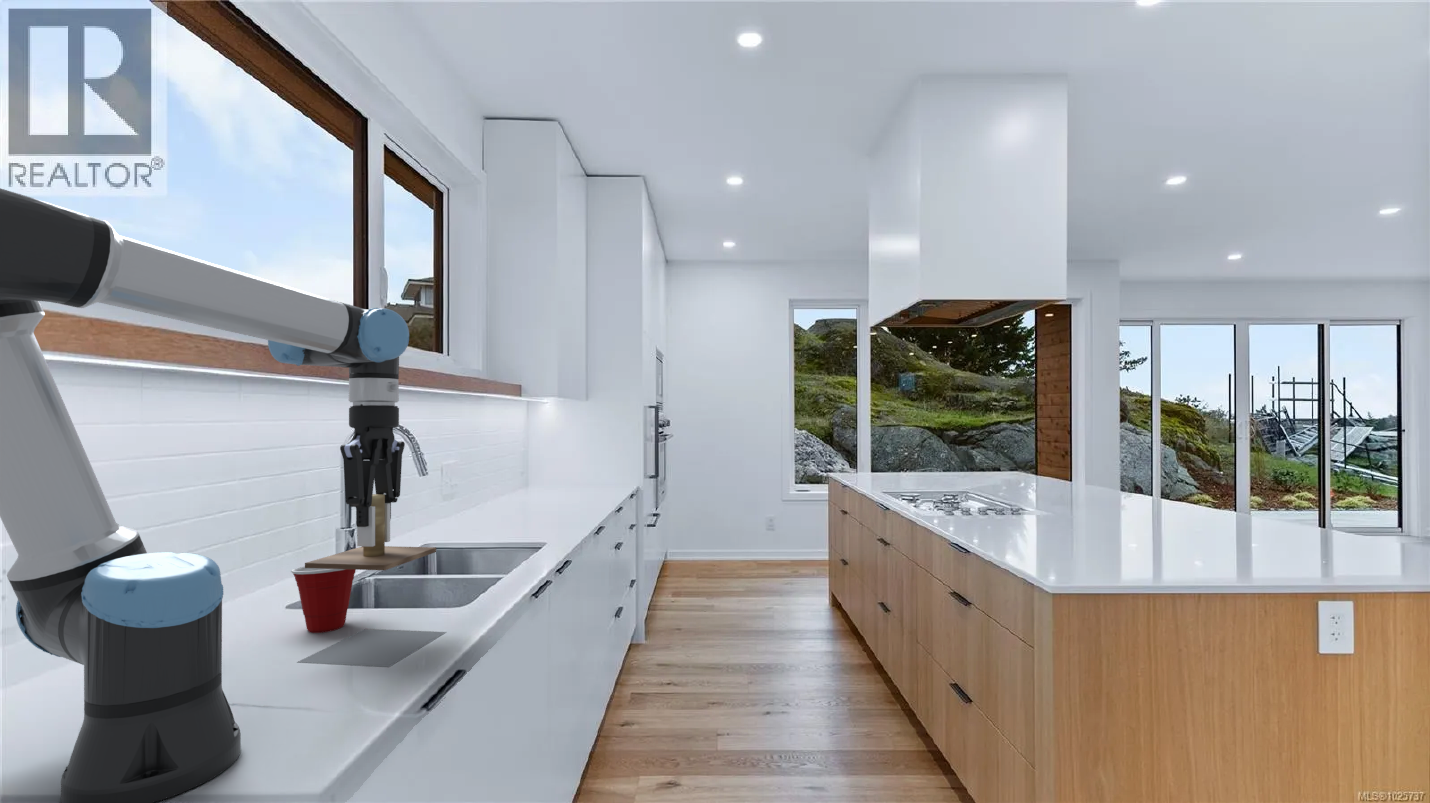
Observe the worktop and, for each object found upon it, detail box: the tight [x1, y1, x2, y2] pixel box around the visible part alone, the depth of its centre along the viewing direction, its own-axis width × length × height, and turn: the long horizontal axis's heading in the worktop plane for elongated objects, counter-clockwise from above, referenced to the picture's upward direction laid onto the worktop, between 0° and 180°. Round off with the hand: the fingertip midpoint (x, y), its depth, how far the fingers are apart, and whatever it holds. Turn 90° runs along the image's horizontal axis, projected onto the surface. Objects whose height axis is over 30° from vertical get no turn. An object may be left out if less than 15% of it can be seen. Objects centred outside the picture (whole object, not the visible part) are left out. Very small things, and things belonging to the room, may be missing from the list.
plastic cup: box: [290, 565, 356, 634], centre depth 121 cm, size 11×11×12 cm
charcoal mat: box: [296, 628, 447, 668], centre depth 110 cm, size 16×16×1 cm
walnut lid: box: [304, 493, 437, 571], centre depth 110 cm, size 14×14×11 cm
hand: (373, 543), depth 110 cm, fingers closed on walnut lid, 3 cm apart
